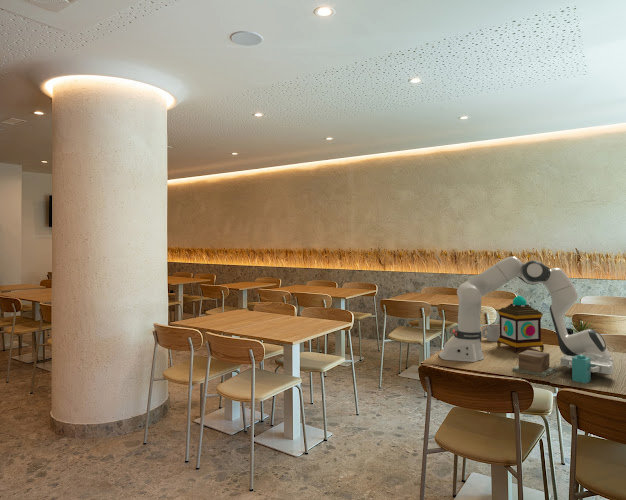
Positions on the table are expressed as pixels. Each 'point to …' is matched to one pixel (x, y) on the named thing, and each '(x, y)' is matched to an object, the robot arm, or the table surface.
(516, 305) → the decorative lantern
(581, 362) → the teal brick
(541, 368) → the tower base
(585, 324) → the house plant
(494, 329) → the cup
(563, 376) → the table surface
